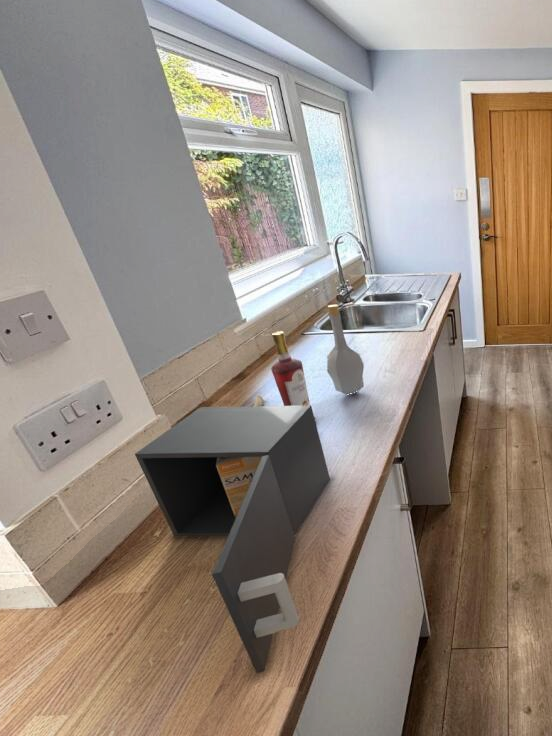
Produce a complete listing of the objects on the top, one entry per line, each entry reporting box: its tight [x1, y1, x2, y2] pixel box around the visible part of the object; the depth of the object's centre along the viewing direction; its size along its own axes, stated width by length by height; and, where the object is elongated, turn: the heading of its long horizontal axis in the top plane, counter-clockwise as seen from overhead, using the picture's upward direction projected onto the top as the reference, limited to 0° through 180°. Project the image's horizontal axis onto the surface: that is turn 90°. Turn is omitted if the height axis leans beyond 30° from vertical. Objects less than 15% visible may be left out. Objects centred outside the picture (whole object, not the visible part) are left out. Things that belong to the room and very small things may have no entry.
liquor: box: [270, 331, 316, 419], centre depth 109 cm, size 7×7×28 cm
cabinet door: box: [211, 455, 301, 674], centre depth 64 cm, size 6×24×20 cm, turn 17°
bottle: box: [326, 304, 365, 396], centre depth 125 cm, size 11×11×30 cm
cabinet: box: [134, 404, 331, 538], centre depth 82 cm, size 16×24×20 cm, turn 89°
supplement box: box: [216, 457, 262, 516], centre depth 83 cm, size 8×5×13 cm, turn 120°
